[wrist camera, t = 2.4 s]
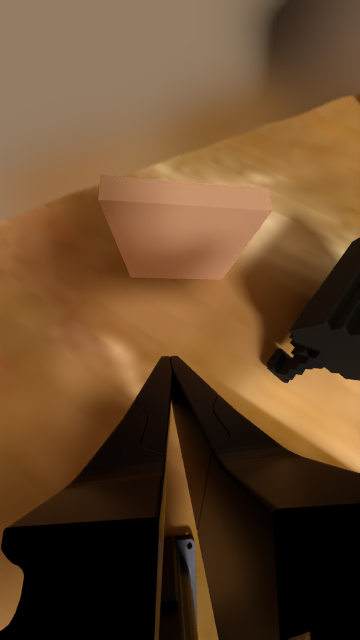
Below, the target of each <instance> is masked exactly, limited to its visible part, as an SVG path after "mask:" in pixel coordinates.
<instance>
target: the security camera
mask: <svg viewBox="0 0 360 640" xmlns="http://www.w3.org/2000/svg"><path fill="white" fill-rule="evenodd" d="M289 332H290V333H291V336H290V338H291V339H292V341H291V342H290V343H291V344H292V345H293V346H294V347H295V348H294V349H293V351H292V352H291V353H292V354H293V355H294V356H293V358H291V357H290V356H289V355H288V354H287V353H286V352H284V351H283V350H282V349H277V350H276V351H275V353H274V354H273V356H272V357H271V359H270V360H269V361H268V363H267V364H269V365H270V366H269V367H268V368H267V369H269V370H270V371H271V372H272V373H273V374H274V375H275V376H277V377H278V378H279V379H280V380H281V381H282V382H285V383H288V382H289V380H293V378H294V377H295V375H296V374H298V375H302V374H303V372H304V371H305V369H313V368H319V369H322V368H323V367H325V368H326V369H328V370H329V371H330V372H331V373H339V374H340V375H341V376H343V377H344V378H345V379H351V380H360V237H359V238H358V239H356V240H355V241H353V242H352V243H351V244H350V246H349V247H348V249H347V250H346V251H345V253H344V254H343V256H342V257H341V258H340V260H339V261H338V263H337V264H336V265H335V267H334V268H333V270H332V271H331V273H330V274H329V275H328V277H327V278H326V280H325V281H324V282H323V284H322V285H321V287H320V288H319V289H318V291H317V292H316V294H315V295H314V296H313V298H312V299H311V301H310V302H309V303H308V305H307V306H306V308H305V309H304V310H303V312H302V313H301V315H300V316H299V318H298V319H297V320H296V322H295V323H294V325H293V326H292V327H291V329H290V330H289Z"/></svg>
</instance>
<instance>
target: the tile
mask: <svg viewBox="0 0 360 640" xmlns="http://www.w3.org/2000/svg"><path fill="white" fill-rule="evenodd" d="M98 201H99V203H100V206H101V208H102V210H103V213H104V215H105V218H106V220H107V222H108V225H109V227H110V229H111V232H112V234H113V237H114V239H115V241H116V244H117V246H118V248H119V251H120V253H121V256H122V258H123V260H124V263H125V265H126V267H127V270H128V272H129V275H130V277H137V278H176V279H215V280H222V279H223V277H224V276H225V275H226V273H227V272H228V271H229V269H230V268H231V267H232V265H233V264H234V262H235V261H236V260H237V258H238V257H239V256H240V254H241V253H242V251H243V250H244V249H245V247H246V246H247V245H248V243H249V242H250V241H251V239H252V238H253V236H254V235H255V234H256V232H257V231H258V230H259V228H260V227H261V225H262V224H263V223H264V221H265V220H266V219H267V217H268V216H269V215H270V213H271V212H272V206H271V200H270V194H269V188H259V187H246V186H233V185H220V184H207V183H194V182H182V181H169V180H156V179H143V178H130V177H117V176H104V175H103V176H102V175H101V176H100V185H99V194H98Z"/></svg>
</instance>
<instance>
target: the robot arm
mask: <svg viewBox="0 0 360 640" xmlns="http://www.w3.org/2000/svg"><path fill="white" fill-rule="evenodd" d="M171 402H172V408H173V413H174V418H175V423H176V428H177V433H178V438H179V443H180V448H181V453H182V458H183V463H184V468H185V473H186V478H187V483H188V488H189V493H190V498H191V503H192V508H193V513H194V518H195V523H196V528H197V531H198V539H199V544H200V549H201V553H202V558H203V563H204V568H205V573H206V578H207V583H208V588H209V593H210V598H211V603H212V608H213V613H214V618H215V623H216V628H217V633H218V638H219V640H360V473H358V472H354V471H351V470H347V469H344V468H340V467H337V466H333V465H330V464H326V463H323V462H319V461H316V460H312V459H309V458H305V457H302V456H300V455H297V454H295V453H293V452H291V451H289V450H288V449H286V448H285V447H283V446H282V445H280V444H279V443H277V442H276V441H275V440H274V439H272V438H271V437H270V436H268V435H267V434H266V433H264V432H263V431H262V430H261V429H259V428H258V427H257V426H255V425H254V424H253V423H252V422H250V421H249V420H248V419H246V418H245V417H244V416H243V415H241V414H240V413H239V412H238V411H237V410H235V409H234V408H233V407H232V406H231V405H230V404H229V403H227V402H226V401H225V400H224V399H223V398H222V397H221V396H220V395H218V393H217V392H216V391H214V390H213V389H212V388H211V387H210V386H209V385H208V384H207V383H206V382H205V381H204V380H203V379H202V378H201V377H200V376H198V375H197V374H196V373H195V372H194V371H193V370H192V369H191V368H190V367H189V366H188V365H187V364H186V363H185V362H184V361H183V360H181V359H180V358H179V357H178V356H170V357H169V356H162V357H161V358H160V360H159V361H158V363H157V364H156V366H155V368H154V369H153V371H152V373H151V374H150V376H149V377H148V379H147V381H146V382H145V384H144V386H143V387H142V389H141V390H140V392H139V394H138V395H137V397H136V399H135V400H134V402H133V403H132V405H131V407H130V408H129V410H128V411H127V413H126V414H125V416H124V417H123V419H122V420H121V422H120V423H119V424H118V426H117V427H116V428H115V430H114V431H113V432H112V433H111V435H110V436H109V437H108V439H107V440H106V441H105V442H104V444H103V445H102V446H101V447H100V449H99V450H98V451H97V452H96V454H95V455H94V456H93V457H92V459H91V460H90V461H89V463H88V464H87V465H86V466H85V467H84V469H83V470H82V471H81V472H80V473H79V475H78V476H77V477H76V478H75V479H74V480H73V481H72V482H71V483H70V484H69V485H67V486H66V487H65V488H64V489H63V490H62V491H60V492H59V493H57V494H56V495H54V496H53V497H51V498H50V499H48V500H47V501H45V502H44V503H42V504H41V505H40V506H38V507H37V508H35V509H34V510H32V511H31V512H29V513H28V514H26V515H25V516H23V517H22V518H20V519H19V520H17V521H16V522H14V523H13V524H11V525H10V526H8V527H7V528H6V529H5V530H4V532H3V538H2V544H1V549H2V552H3V553H4V555H5V556H6V557H7V559H9V560H10V562H11V563H13V564H15V565H17V566H19V567H20V568H21V569H22V571H23V573H24V581H23V587H22V593H21V598H20V601H19V604H18V607H17V610H16V613H15V614H14V616H13V618H12V620H11V622H10V623H9V625H8V626H6V627H5V628H4V629H3V630H1V631H0V640H198V632H197V603H196V567H195V543H194V538H193V536H192V535H182V536H173V537H164V526H165V507H166V488H167V470H168V451H169V432H170V413H171ZM189 542H190V543H191V544H190V545H188V543H189Z"/></svg>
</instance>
